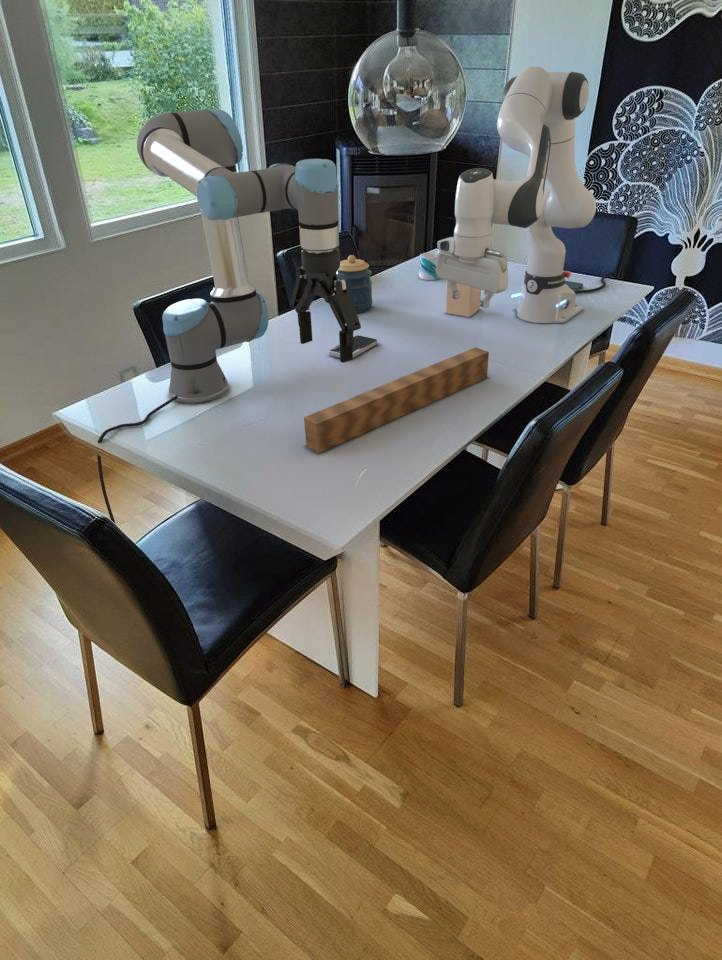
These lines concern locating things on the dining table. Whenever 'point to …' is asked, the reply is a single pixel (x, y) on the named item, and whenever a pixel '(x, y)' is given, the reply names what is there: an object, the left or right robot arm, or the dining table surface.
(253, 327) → the left robot arm
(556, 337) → the dining table surface
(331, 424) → the post
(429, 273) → the mug
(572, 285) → the smartphone
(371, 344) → the smartphone
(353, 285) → the canister
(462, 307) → the soap dispenser
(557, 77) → the right robot arm
